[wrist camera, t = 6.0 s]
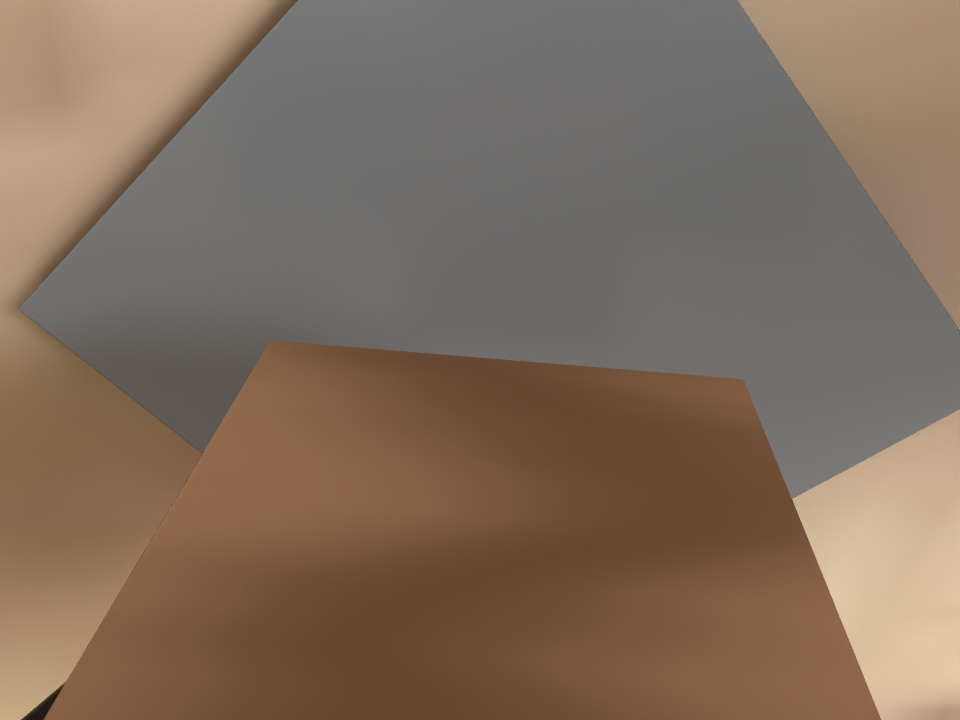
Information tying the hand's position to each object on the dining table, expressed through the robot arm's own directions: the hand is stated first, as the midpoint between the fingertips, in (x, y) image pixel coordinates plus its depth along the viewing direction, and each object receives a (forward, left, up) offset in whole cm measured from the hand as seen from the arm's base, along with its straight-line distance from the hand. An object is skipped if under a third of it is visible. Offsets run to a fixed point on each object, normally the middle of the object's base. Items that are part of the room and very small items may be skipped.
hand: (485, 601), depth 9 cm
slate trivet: (0, 0, -6) cm, 7 cm away
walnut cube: (0, 0, -1) cm, 1 cm away
